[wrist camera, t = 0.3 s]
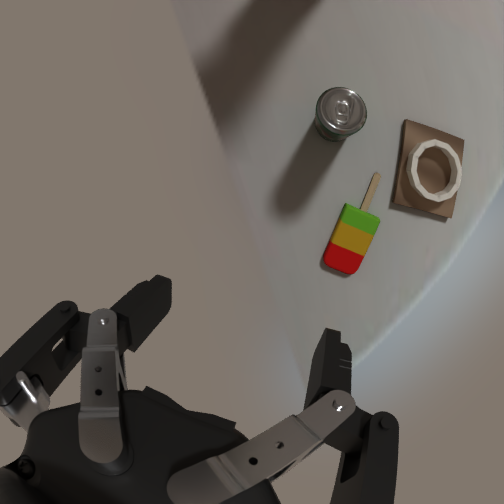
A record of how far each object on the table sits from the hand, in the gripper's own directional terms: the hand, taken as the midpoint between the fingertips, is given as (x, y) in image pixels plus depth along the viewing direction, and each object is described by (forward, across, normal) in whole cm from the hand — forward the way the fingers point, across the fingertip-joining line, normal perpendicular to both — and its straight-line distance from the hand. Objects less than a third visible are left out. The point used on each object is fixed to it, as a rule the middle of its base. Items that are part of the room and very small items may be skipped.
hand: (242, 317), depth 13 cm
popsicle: (+28, -9, +2) cm, 30 cm away
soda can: (+29, -2, -11) cm, 31 cm away
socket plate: (+29, -17, -9) cm, 35 cm away
